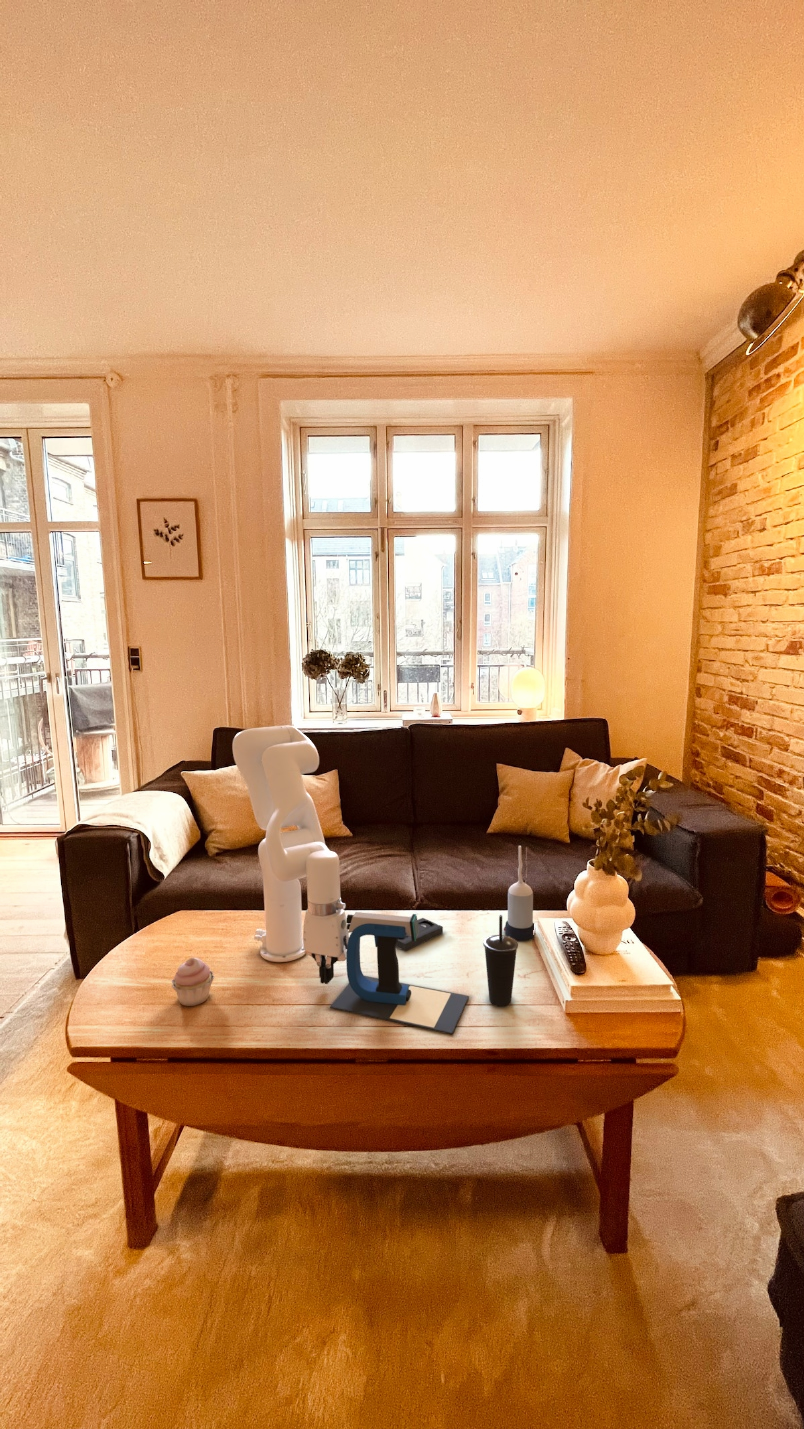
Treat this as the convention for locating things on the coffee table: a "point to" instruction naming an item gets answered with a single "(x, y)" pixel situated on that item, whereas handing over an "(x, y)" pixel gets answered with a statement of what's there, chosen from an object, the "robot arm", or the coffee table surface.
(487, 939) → the drinking cup
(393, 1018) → the mat
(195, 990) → the cupcake
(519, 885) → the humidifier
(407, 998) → the handheld scanner
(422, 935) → the vhs tape
